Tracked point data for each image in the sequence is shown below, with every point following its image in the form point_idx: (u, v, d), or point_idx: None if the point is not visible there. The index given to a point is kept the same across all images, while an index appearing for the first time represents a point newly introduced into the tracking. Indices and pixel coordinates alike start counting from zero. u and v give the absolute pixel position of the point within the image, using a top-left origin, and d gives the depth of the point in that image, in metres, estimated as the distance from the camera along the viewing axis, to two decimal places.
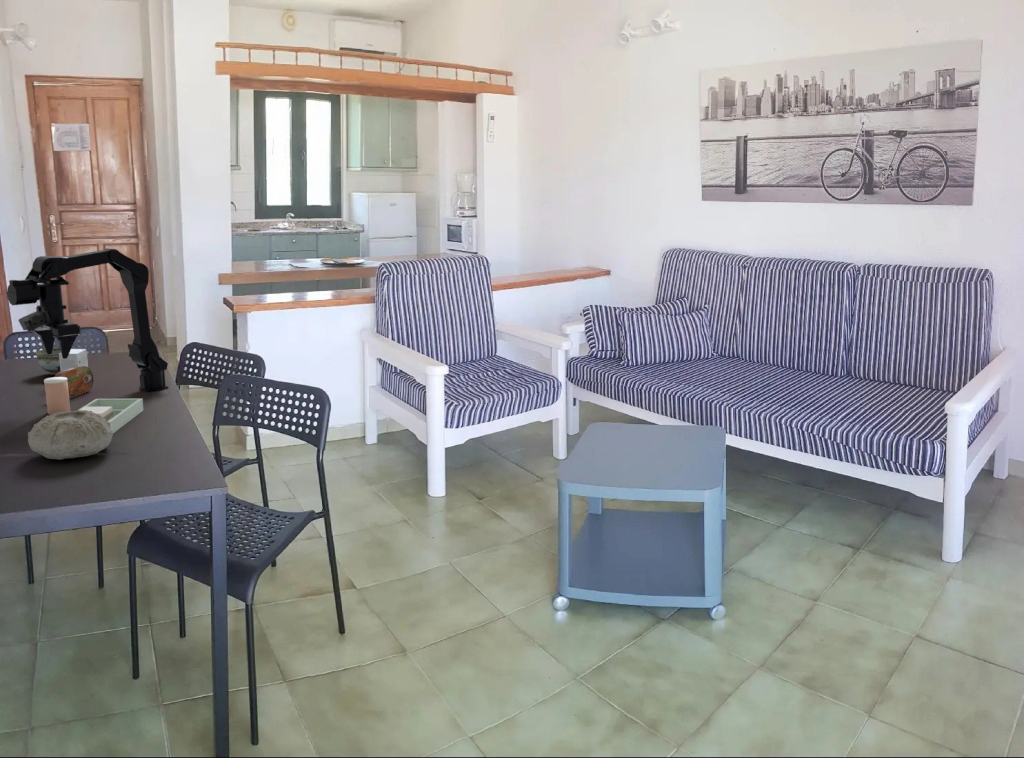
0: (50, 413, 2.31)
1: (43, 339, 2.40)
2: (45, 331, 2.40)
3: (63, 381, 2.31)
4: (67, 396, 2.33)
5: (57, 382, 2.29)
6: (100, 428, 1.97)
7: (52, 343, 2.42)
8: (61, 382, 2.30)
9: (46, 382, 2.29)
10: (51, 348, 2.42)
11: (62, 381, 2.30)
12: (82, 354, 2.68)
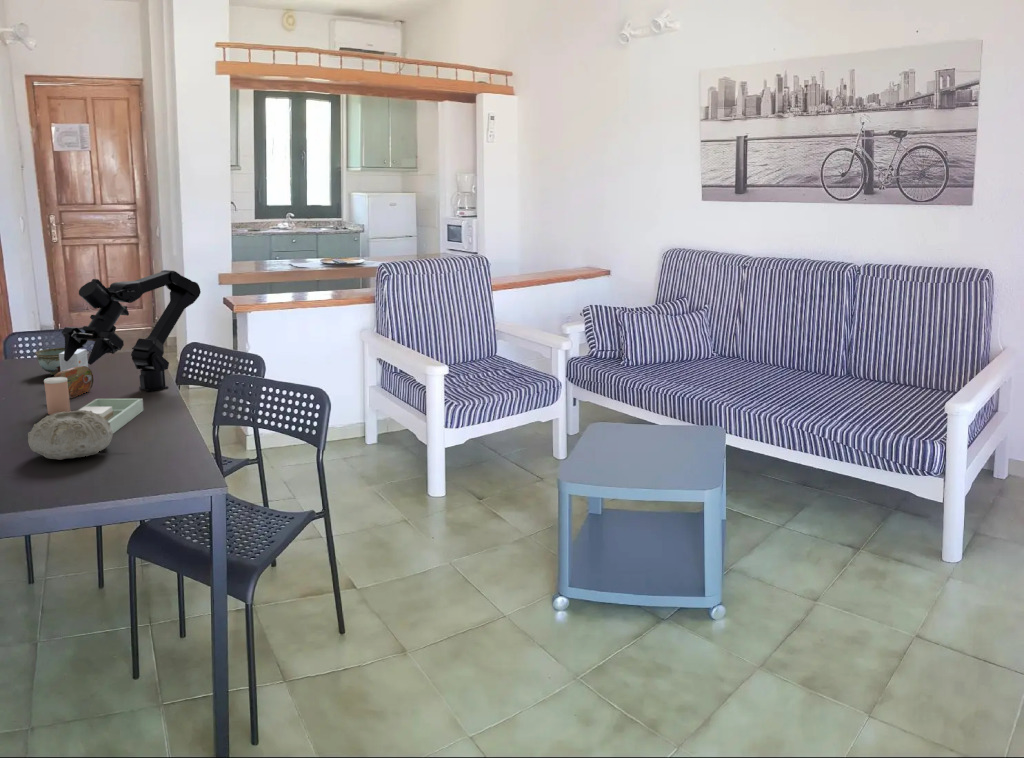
0: (50, 413, 2.31)
1: None
2: None
3: (63, 381, 2.31)
4: (67, 396, 2.33)
5: (57, 382, 2.29)
6: (100, 428, 1.97)
7: None
8: (61, 382, 2.30)
9: (46, 382, 2.29)
10: None
11: (62, 381, 2.30)
12: (82, 354, 2.68)
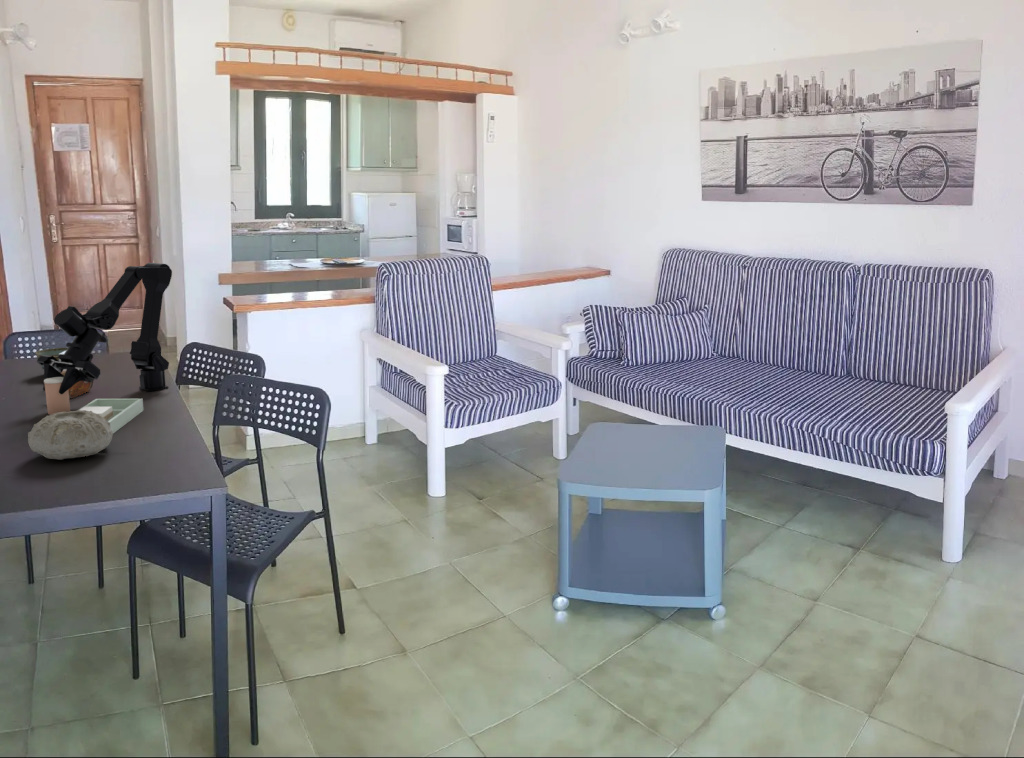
0: (50, 413, 2.31)
1: None
2: None
3: None
4: (67, 396, 2.33)
5: (57, 382, 2.29)
6: (100, 428, 1.97)
7: None
8: (61, 382, 2.30)
9: (46, 382, 2.29)
10: None
11: None
12: None
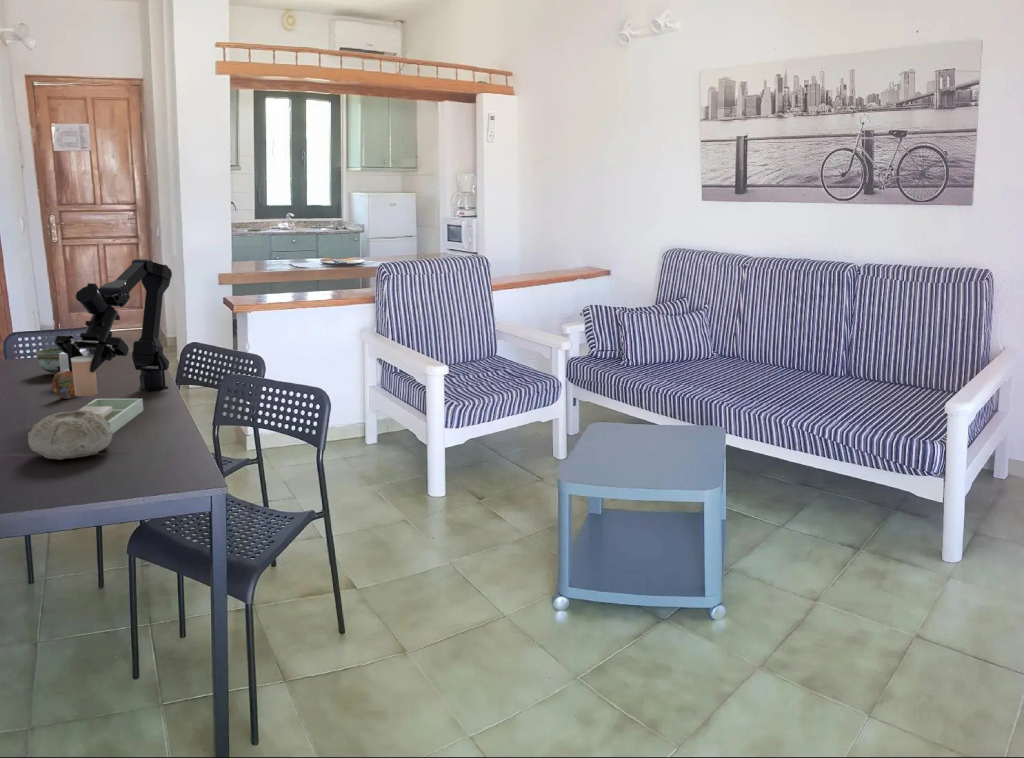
0: (80, 393, 2.27)
1: None
2: None
3: (92, 359, 2.27)
4: (95, 374, 2.29)
5: (88, 360, 2.26)
6: (100, 428, 1.97)
7: None
8: (91, 360, 2.27)
9: (76, 361, 2.25)
10: None
11: (92, 359, 2.27)
12: (82, 354, 2.68)
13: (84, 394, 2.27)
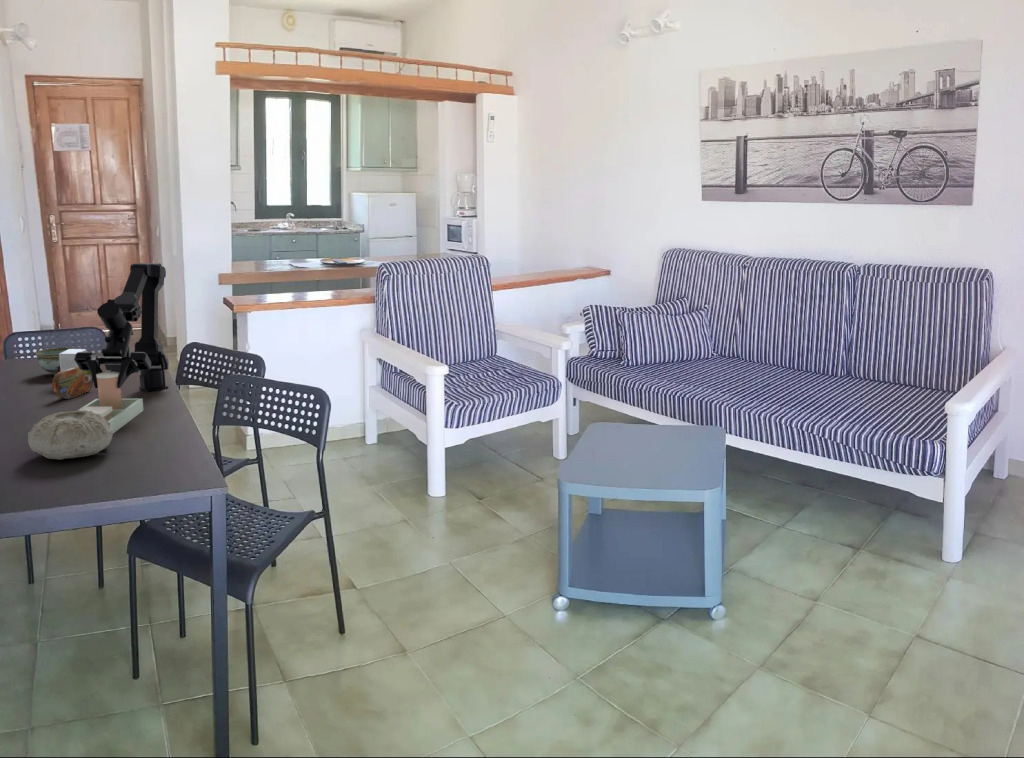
0: None
1: None
2: None
3: (118, 375, 2.28)
4: (120, 390, 2.30)
5: (115, 376, 2.27)
6: (100, 428, 1.97)
7: None
8: (117, 376, 2.28)
9: (103, 377, 2.25)
10: None
11: (118, 375, 2.28)
12: None
13: None
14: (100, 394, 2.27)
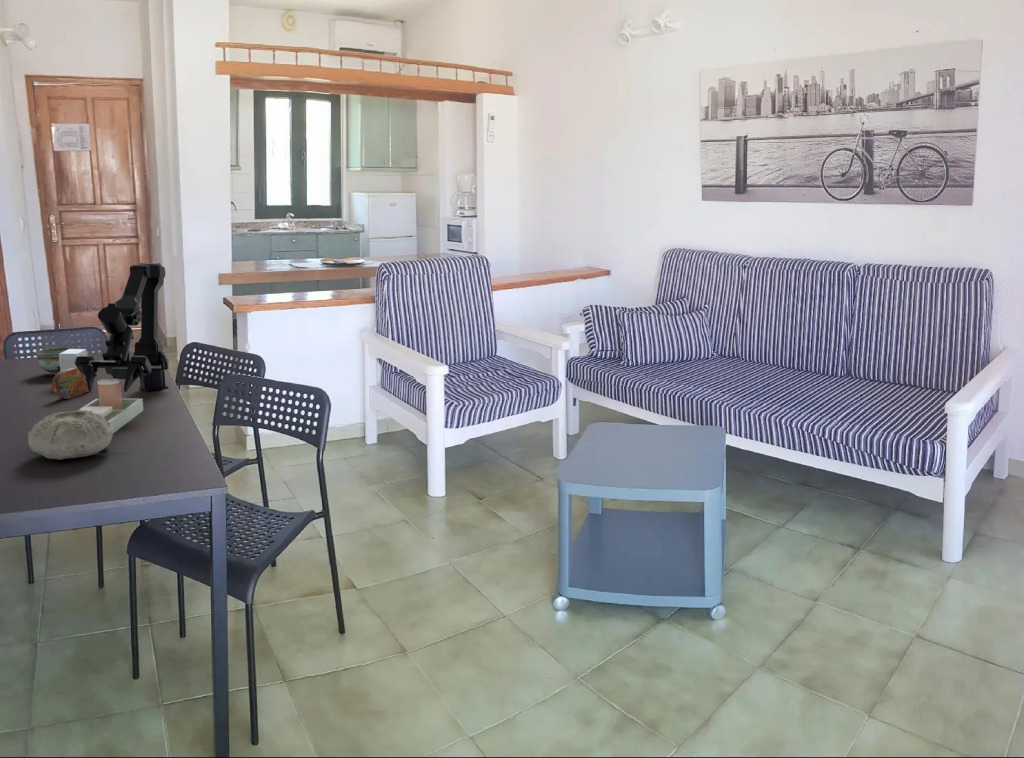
0: None
1: None
2: None
3: (119, 381, 2.29)
4: (121, 396, 2.31)
5: (116, 383, 2.27)
6: (100, 428, 1.97)
7: None
8: (118, 382, 2.28)
9: (104, 384, 2.26)
10: None
11: (119, 381, 2.28)
12: (82, 354, 2.68)
13: None
14: (101, 401, 2.27)
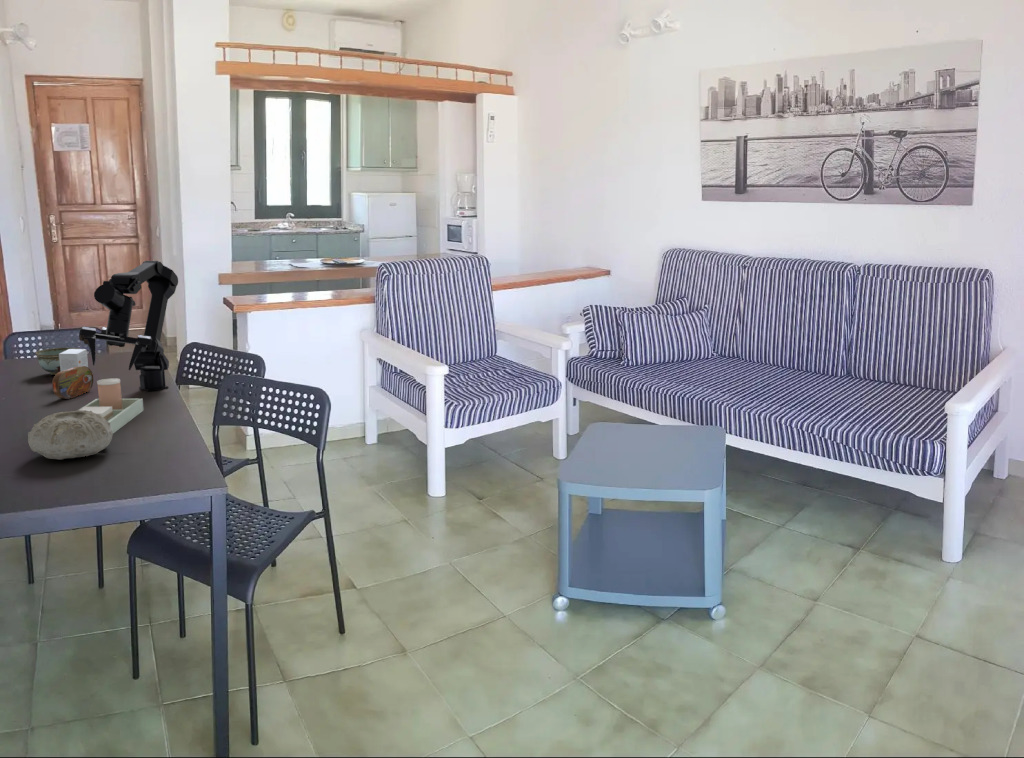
0: None
1: None
2: None
3: (119, 381, 2.29)
4: (121, 396, 2.31)
5: (115, 383, 2.27)
6: (100, 428, 1.97)
7: (131, 358, 2.39)
8: (118, 382, 2.28)
9: (104, 384, 2.26)
10: None
11: (119, 381, 2.28)
12: (82, 354, 2.68)
13: None
14: (101, 401, 2.27)
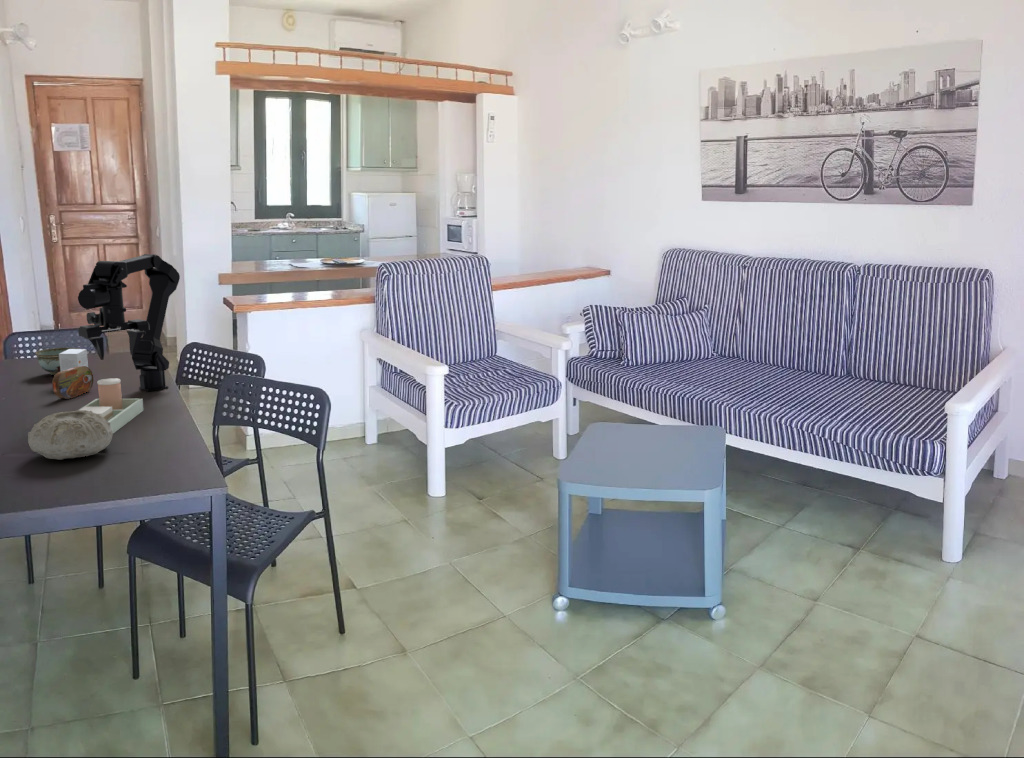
0: None
1: (129, 339, 2.50)
2: (131, 332, 2.49)
3: (119, 381, 2.29)
4: (121, 396, 2.31)
5: (116, 383, 2.27)
6: (100, 428, 1.97)
7: (134, 345, 2.49)
8: (118, 382, 2.28)
9: (104, 384, 2.26)
10: (132, 350, 2.50)
11: (119, 381, 2.28)
12: (82, 354, 2.68)
13: None
14: (101, 400, 2.27)
